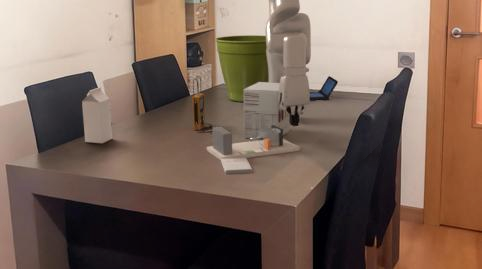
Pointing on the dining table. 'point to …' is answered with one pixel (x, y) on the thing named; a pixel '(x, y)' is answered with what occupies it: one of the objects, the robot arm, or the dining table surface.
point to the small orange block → (267, 143)
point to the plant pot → (242, 63)
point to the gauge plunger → (270, 136)
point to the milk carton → (97, 117)
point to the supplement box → (263, 109)
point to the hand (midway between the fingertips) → (294, 125)
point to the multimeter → (198, 109)
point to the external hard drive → (236, 165)
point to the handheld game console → (324, 90)
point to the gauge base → (243, 146)
